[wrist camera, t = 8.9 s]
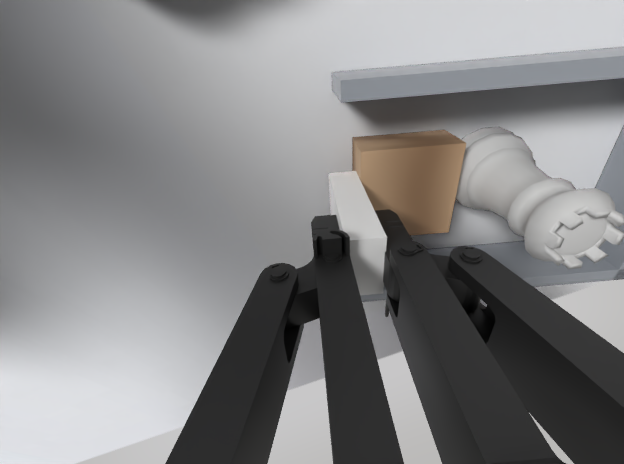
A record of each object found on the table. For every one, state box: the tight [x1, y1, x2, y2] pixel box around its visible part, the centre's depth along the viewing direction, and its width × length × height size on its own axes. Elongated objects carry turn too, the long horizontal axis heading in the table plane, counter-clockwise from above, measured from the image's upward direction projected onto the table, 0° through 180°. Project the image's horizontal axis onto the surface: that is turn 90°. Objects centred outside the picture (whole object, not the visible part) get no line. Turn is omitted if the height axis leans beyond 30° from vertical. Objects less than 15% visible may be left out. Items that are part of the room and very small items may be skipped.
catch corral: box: [332, 47, 624, 302], centre depth 17 cm, size 17×12×4 cm
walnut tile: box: [352, 130, 466, 235], centre depth 17 cm, size 5×5×2 cm
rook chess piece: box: [455, 127, 624, 269], centre depth 14 cm, size 4×4×8 cm
